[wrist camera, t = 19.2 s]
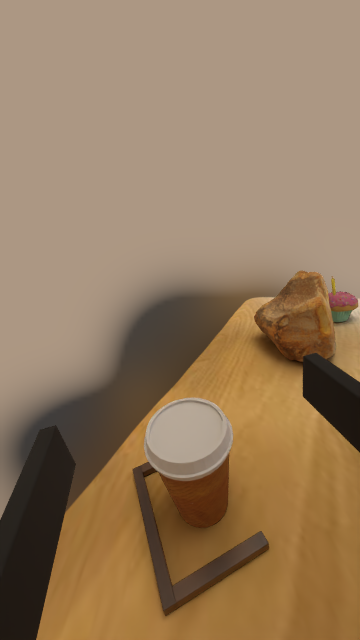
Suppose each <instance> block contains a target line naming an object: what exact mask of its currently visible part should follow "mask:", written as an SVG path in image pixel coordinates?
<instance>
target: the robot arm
mask: <svg viewBox="0 0 360 640" xmlns="http://www.w3.org/2000/svg"><path fill="white" fill-rule="evenodd" d="M303 397H304V398H305V399H306V400H307V401H308V402H309V403H310V404H311V405H312V406H313V407H314V408H315V409H316V410H317V411H318V412H319V413H320V414H321V415H322V416H323V417H324V418H325V419H326V420H327V421H328V422H329V423H330V424H332V425H333V426H334V427H335V428H336V429H337V430H338V431H339V432H340V433H341V434H342V435H343V436H344V437H345V438H346V439H347V440H348V441H349V442H350V443H351V444H352V445H353V446H354V447H355V448H356V449H357V450H358V451H359V452H360V382H359V381H357V380H356V379H354V378H353V377H351V376H350V375H348V374H347V373H345V372H344V371H342V370H341V369H340V368H338V367H337V366H335V365H334V364H332V363H331V362H329V361H328V360H326V359H325V358H323V357H322V356H320V355H319V354H318V353H312V354H309V355H305V356H303ZM75 465H76V464H75V462H74V460H73V458H72V456H71V454H70V452H69V450H68V448H67V446H66V444H65V442H64V440H63V438H62V436H61V434H60V432H59V430H58V428H57V426H52V427H48V428H45V429H42V430H40V431H39V433H38V435H37V438H36V440H35V442H34V445H33V447H32V449H31V451H30V454H29V456H28V458H27V461H26V463H25V465H24V467H23V470H22V472H21V474H20V477H19V479H18V481H17V483H16V486H15V488H14V490H13V493H12V495H11V497H10V499H9V501H8V504H7V506H6V508H5V511H4V513H3V515H2V517H1V520H0V640H36V638H37V633H38V629H39V624H40V620H41V616H42V611H43V607H44V602H45V598H46V593H47V589H48V585H49V580H50V576H51V571H52V567H53V563H54V558H55V554H56V549H57V545H58V540H59V536H60V532H61V527H62V523H63V518H64V514H65V509H66V505H67V501H68V496H69V492H70V487H71V483H72V478H73V474H74V470H75Z"/></svg>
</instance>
